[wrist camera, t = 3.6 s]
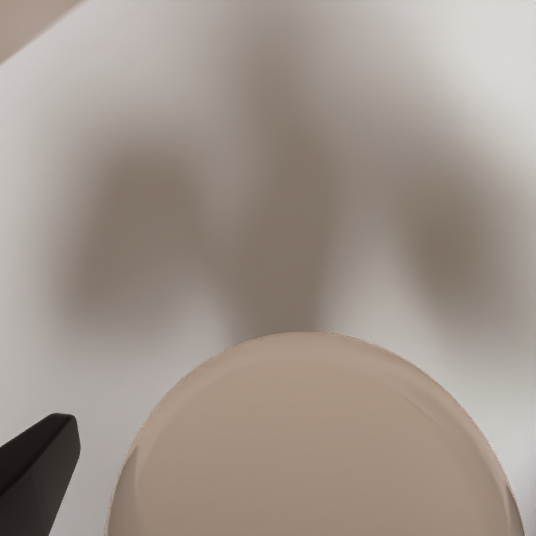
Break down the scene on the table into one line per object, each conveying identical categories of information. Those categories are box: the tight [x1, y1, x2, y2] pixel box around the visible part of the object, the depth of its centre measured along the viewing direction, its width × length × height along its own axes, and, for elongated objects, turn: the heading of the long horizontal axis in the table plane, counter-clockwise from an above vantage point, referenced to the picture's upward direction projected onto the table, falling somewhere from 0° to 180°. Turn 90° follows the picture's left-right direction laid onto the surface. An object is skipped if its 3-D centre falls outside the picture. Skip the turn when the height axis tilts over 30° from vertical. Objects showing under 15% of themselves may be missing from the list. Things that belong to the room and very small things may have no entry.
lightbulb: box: [104, 331, 525, 536], centre depth 10 cm, size 6×6×11 cm
